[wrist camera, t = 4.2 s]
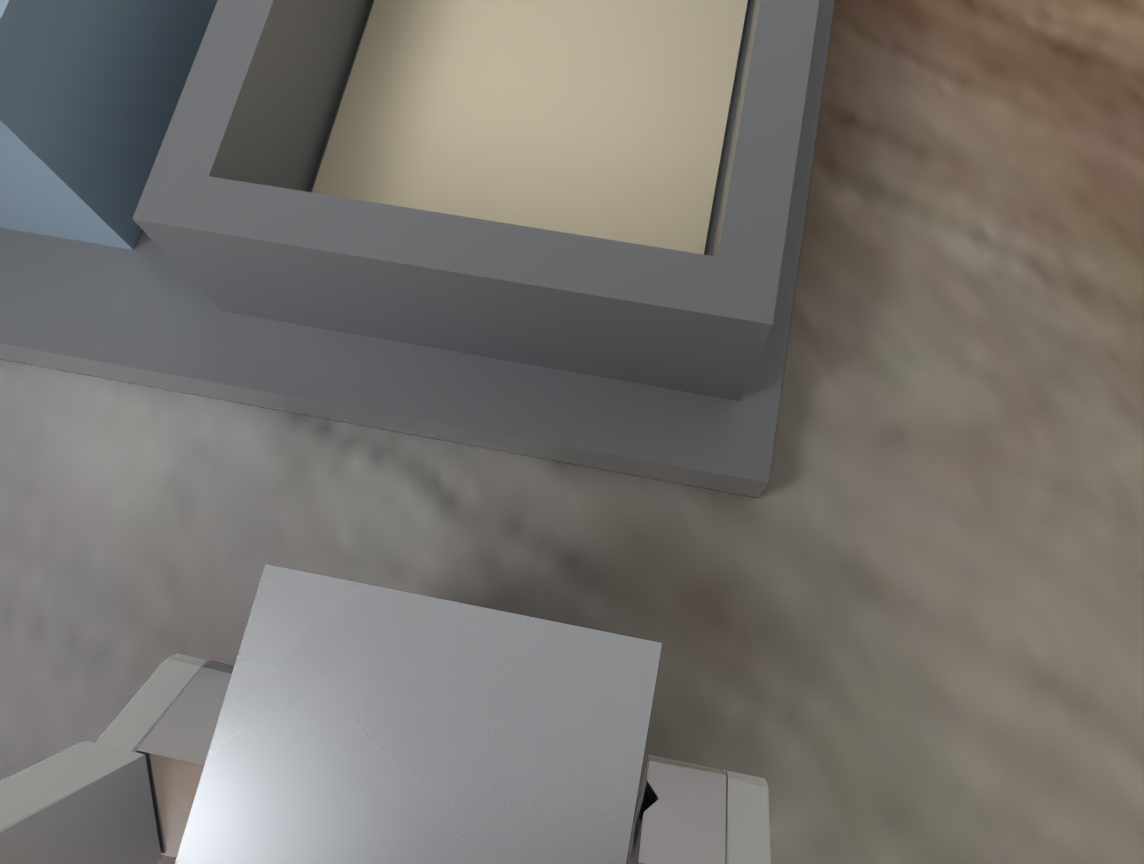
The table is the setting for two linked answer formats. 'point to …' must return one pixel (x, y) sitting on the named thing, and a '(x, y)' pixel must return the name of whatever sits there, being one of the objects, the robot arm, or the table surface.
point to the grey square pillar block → (420, 734)
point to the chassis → (423, 213)
